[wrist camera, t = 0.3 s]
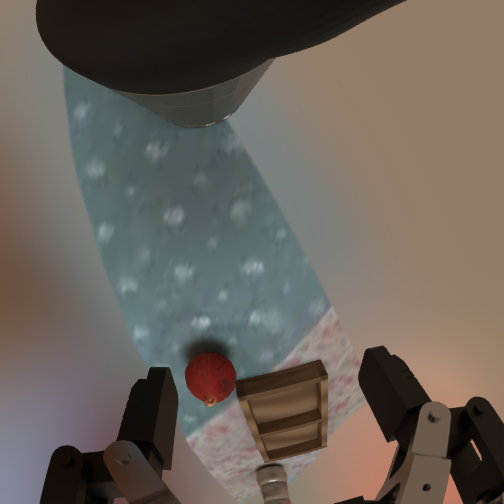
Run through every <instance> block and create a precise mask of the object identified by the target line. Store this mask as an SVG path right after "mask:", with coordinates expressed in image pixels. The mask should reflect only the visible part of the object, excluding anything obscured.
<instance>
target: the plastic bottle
mask: <svg viewBox="0 0 504 504" xmlns="http://www.w3.org/2000/svg"><path fill="white" fill-rule="evenodd" d="M257 482H258V485H259V487H260V489H261V493H262V496H263V499H264V504H291V501H290V499H289V495H288V488H287V474H286V472H285V470H284V469H283V468H282V467H280V466H268V467H264V468H262V469H260V470H259V471H258V473H257Z"/></svg>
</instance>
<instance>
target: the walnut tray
mask: <svg viewBox="0 0 504 504" xmlns="http://www.w3.org/2000/svg"><path fill="white" fill-rule="evenodd" d="M235 383H236V390H237V397H238V400H239V403H240V405H241V408H242V410H243V413H244V415H245V418H246V420H247V423H248V425H249V427H250V430H251V432H252V435H253V437H254V439H255V442H256V444H257V446H258V449H259V451H260V453H261V456H262V458H263V460H264V462H265V463H267V462H272V461H276V460H281V459H285V458H289V457H293V456H297V455H301V454H305V453H308V452H312V451H315V450H318V449H322V448H325V447H327V423H328V374H327V372H326V370H325V368H324V366H323V364H322V362H321V360H319V361H315V362H312V363H308V364H305V365H301V366H298V367H294V368H290V369H286V370H282V371H278V372H274V373H270V374H266V375H262V376H257V377H253V378H248V379H244V380H239V381H236V382H235Z"/></svg>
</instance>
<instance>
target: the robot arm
mask: <svg viewBox="0 0 504 504" xmlns="http://www.w3.org/2000/svg"><path fill="white" fill-rule="evenodd" d="M404 1H406V0H37V4H36V21H37V27H38V31H39V33H40V36H41V38H42V40H43V42H44V44H45V46H46V47H47V49H48V50H49V51H50V52H51V53H52V55H53V56H54V57H56V58H57V59H58V60H59V61H60V62H61V63H62V64H63V65H65V66H67V67H68V68H70V69H71V70H73V71H74V72H76V73H78V74H80V75H82V76H84V77H86V78H88V79H90V80H92V81H94V82H96V83H98V84H101V85H103V86H105V87H106V88H108V89H110V90H112V91H114V92H116V93H118V94H120V95H122V96H124V97H126V98H128V99H130V100H132V101H134V102H136V103H138V104H140V105H142V106H143V107H145V108H147V109H149V110H151V111H153V112H154V113H156V114H158V115H160V116H161V117H163V118H165V119H167V120H168V121H170V122H172V123H174V124H176V125H180V126H183V127H189V128H201V127H208V126H211V125H214V124H218V123H219V122H221V121H223V120H225V119H227V118H228V117H229V116H230V115H232V114H233V113H234V112H235V111H236V110H237V109H238V108H239V106H240V105H241V104H242V103H243V101H244V100H245V98H246V97H247V96H248V94H249V93H250V92H251V90H252V89H253V88H254V86H255V85H256V83H257V82H258V81H259V79H260V78H261V77H262V75H263V74H264V72H265V71H266V70H267V69H268V67H269V66H270V65H271V63H272V62H273V60H274V59H275V58H276V57H280V56H284V55H288V54H291V53H295V52H298V51H301V50H304V49H307V48H310V47H313V46H316V45H318V44H321V43H323V42H326V41H328V40H330V39H332V38H335V37H336V36H338V35H340V34H342V33H344V32H346V31H348V30H349V29H351V28H353V27H355V26H356V25H358V24H360V23H362V22H364V21H365V20H367V19H369V18H371V17H373V16H375V15H377V14H379V13H381V12H383V11H385V10H387V9H389V8H391V7H393V6H395V5H397V4H400V3H402V2H404ZM358 380H359V385H360V388H361V390H362V392H363V394H364V396H365V398H366V400H367V402H368V404H369V405H370V408H371V410H372V412H373V414H374V416H375V418H376V420H377V422H378V424H379V426H380V428H381V430H382V432H383V434H384V437H385V439H386V441H387V442H390V441H394V440H397V441H398V443H399V444H398V446H397V448H396V451H395V454H394V457H393V460H392V463H391V466H390V469H389V472H388V475H387V478H386V480H385V482H384V484H383V486H382V488H381V490H380V491H379V493H378V494H377V496H376V499H375V501H374V500H364V498H363V496H359V497H356V498H353V499H349V500H345V501H342V502H338V503H334V504H443V500H444V496H445V492H446V488H447V483H448V479H449V474H451V476H452V478H453V480H454V482H455V485H456V487H457V490H458V492H459V494H460V497H461V499H462V501H463V504H504V424H503V422H502V420H501V419H500V417H499V416H498V414H497V413H496V411H495V410H494V408H493V407H492V406H491V404H490V403H489V402H488V401H487V400H486V399H484V398H482V397H473V398H471V399H470V400H469V401H468V402H467V404H466V405H465V406H464V407H457V408H447V407H446V406H445V405H444V404H442V403H440V402H432V401H431V399H430V398H429V397H428V395H427V394H426V392H425V390H424V389H423V388H422V386H421V385H420V383H419V382H418V380H417V379H416V378H415V377H414V375H413V373H412V372H411V371H410V370H409V368H408V366H407V365H406V363H405V362H404V361H403V360H402V359H400V358H399V357H397V356H396V355H390V353H389V352H388V351H387V349H386V348H385V347H384V346H378V347H373V348H368V349H366V350H365V353H364V356H363V360H362V364H361V367H360V371H359V375H358ZM177 411H178V393H177V389H176V386H175V383H174V380H173V377H172V373H171V370H170V368H169V367H150V369H149V372H148V376H147V379H139V380H138V381H137V382H136V383H135V384H134V386H133V387H132V388H131V392H130V395H129V400H128V402H127V405H126V408H125V412H124V415H123V420H122V423H121V426H120V430H119V434H118V437H117V440H116V441H115V442H113V443H111V444H110V445H109V446H108V447H107V448H106V449H105V450H103V451H99V452H88V453H81V452H80V451H79V450H78V449H77V448H75V447H73V446H68V445H66V446H61V447H59V448H57V449H56V450H55V451H54V452H53V454H52V456H51V460H50V463H49V467H48V470H47V474H46V478H45V482H44V486H43V491H42V495H41V499H40V504H113V502H114V498H121V497H124V498H125V499H126V501H127V502H128V504H181V503H180V502H179V500H178V499H177V498H176V497H175V496H174V494H173V493H172V492H171V491H170V489H169V488H168V487H167V486H166V484H165V483H164V482H163V480H162V470H171V465H172V454H173V445H174V436H175V427H176V419H177ZM472 439H473V441H474V443H475V445H476V446H477V448H478V450H479V452H480V454H481V457H482V461H481V460H480V458H479V457H478V455H477V453H476V451H475V449H474V447H473V445H472V443H471V442H470V441H471V440H472Z"/></svg>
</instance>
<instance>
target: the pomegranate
mask: <svg viewBox="0 0 504 504" xmlns="http://www.w3.org/2000/svg"><path fill="white" fill-rule="evenodd" d="M185 379H186V385H187V387H188V389H189V390H190V391H191V393H192V394H193V395H194V396H195V397H196V398H198V399H200V400H201V401H204V403H205V405H206V406H208V407H212V406H213V405H215V404H216V403H217V402H220V401H222V400H224V399H225V398H227V397H228V396H229V395H230V394H231V392H232V391H233V390H234V387H235V382H236V371H235V369H234V367H233V365H232V363H231V361H230V360H228V359H227V358H226V357H224V356H223V355H221V354H216V353H203V354H200V355H197V356H196V357H195V358H193V359H192V360H191V361H190V362H189V364H188V366H187V367H186V370H185Z"/></svg>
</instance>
